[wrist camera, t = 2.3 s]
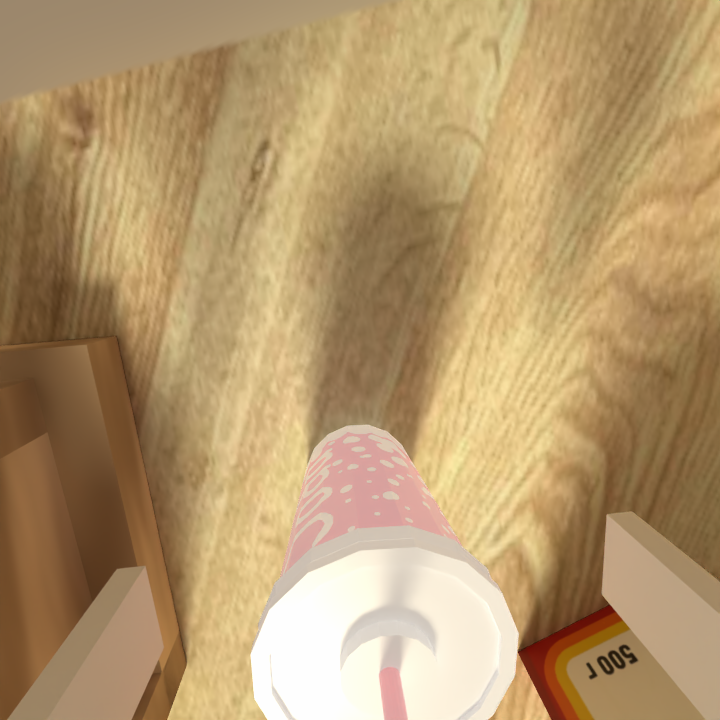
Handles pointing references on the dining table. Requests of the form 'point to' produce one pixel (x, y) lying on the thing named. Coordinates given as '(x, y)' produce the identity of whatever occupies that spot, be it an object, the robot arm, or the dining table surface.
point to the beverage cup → (379, 600)
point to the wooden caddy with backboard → (72, 510)
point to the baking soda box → (603, 674)
